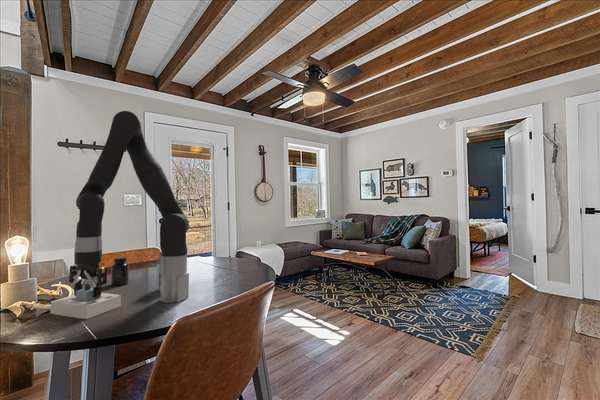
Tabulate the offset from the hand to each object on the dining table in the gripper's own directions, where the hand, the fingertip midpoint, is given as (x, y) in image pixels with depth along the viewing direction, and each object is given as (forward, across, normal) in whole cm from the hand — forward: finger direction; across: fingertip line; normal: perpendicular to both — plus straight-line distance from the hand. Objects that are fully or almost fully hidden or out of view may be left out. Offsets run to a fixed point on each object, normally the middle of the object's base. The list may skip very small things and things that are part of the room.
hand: (87, 296), depth 95 cm
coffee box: (+5, -8, -30) cm, 32 cm away
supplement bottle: (+5, +18, -28) cm, 33 cm away
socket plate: (+5, 0, 0) cm, 5 cm away
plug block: (+5, 0, 0) cm, 5 cm away
